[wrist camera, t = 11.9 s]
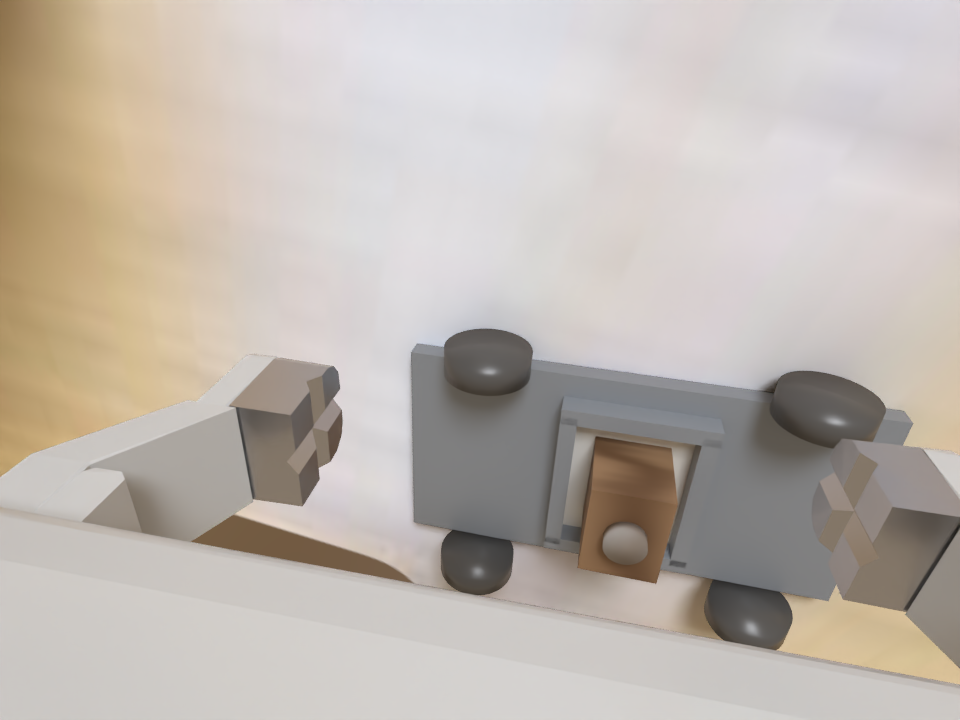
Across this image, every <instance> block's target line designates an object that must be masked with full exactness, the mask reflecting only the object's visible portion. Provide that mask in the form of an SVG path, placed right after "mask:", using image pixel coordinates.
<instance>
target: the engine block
mask: <svg viewBox="0 0 960 720" xmlns="http://www.w3.org/2000/svg"><path fill="white" fill-rule="evenodd" d="M677 506H678V501H677V492H676V483H675V474H674V465H673V456H672V448H667V447H661V446H655V445H649V444H642V443H636V442H630V441H624V440H617V439H611V438H605V437H599V436H596V437H595V443H594V449H593V455H592V461H591V466H590V472H589V478H588V484H587V490H586V495H585V501H584V507H583V515H582V526H581V537H580V548H579V559H578V568H580V569H585V570H590V571H595V572H600V573H605V574H610V575H615V576H620V577H625V578H630V579H636V580H641V581H646V582H651V583H657V579H658V575H659V572H660V568H661V564H662V561H663V557H664V554H665V550H666V546H667V543H668V539H669V535H670V532H671V528H672V524H673V521H674V517H675V513H676V510H677Z"/></svg>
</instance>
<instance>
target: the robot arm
mask: <svg viewBox="0 0 960 720" xmlns="http://www.w3.org/2000/svg"><path fill="white" fill-rule="evenodd" d="M339 389H340V384H339V375H338V371H337V370H336V369H335V367H334V366H329V365H323V364H317V363H310V362H304V361H298V360H292V359H286V358H278V357H274V356H266V355H258V354H249V355H246V356H245V357H244V358H243V359H242V360H241V361H240V362H238V363H237V364H236V365H235V366H234V367H233V368H232V369H231V370H230V371H229V372H228V373H227V374H226V375H224V376H223V377H222V378H221V379H220V380H219V381H218V382H217V383H216V384H215V385H214V386H213V387H212V388H210V389H209V390H208V391H207V392H206V393H205V394H204V395H203V396H202V397H201V398H200V399H199V400H198V401H189V400H187V401H184V402H181V403H178V404H175V405H172V406H170V407H167V408H164V409H161V410H158V411H155V412H152V413H149V414H146V415H143V416H140V417H137V418H135V419H132V420H129V421H126V422H123V423H120V424H117V425H114V426H111V427H108V428H105V429H102V430H100V431H97V432H94V433H91V434H88V435H85V436H82V437H79V438H76V439H73V440H70V441H67V442H65V443H62V444H59V445H56V446H53V447H50V448H47V449H44V450H41V451H38V452H35V453H32V454H30V455H29V456H28V457H26V458H25V459H24V460H22V461H21V462H20V463H18V464H17V465H16V466H14V467H13V468H12V469H11V470H9V471H8V472H7V473H5V474H4V475H3V476H1V477H0V720H960V685H959V684H954V683H948V682H943V681H938V680H932V679H927V678H921V677H916V676H911V675H905V674H900V673H895V672H889V671H884V670H878V669H873V668H868V667H862V666H857V665H852V664H846V663H841V662H835V661H830V660H825V659H819V658H814V657H809V656H803V655H798V654H793V653H787V652H782V651H776V650H771V649H766V648H760V647H755V646H750V645H744V644H739V643H733V642H728V641H723V640H717V639H712V638H707V637H701V636H696V635H690V634H685V633H680V632H674V631H669V630H664V629H658V628H653V627H647V626H642V625H636V624H631V623H625V622H620V621H615V620H609V619H604V618H598V617H593V616H587V615H582V614H576V613H571V612H566V611H560V610H555V609H549V608H544V607H538V606H533V605H527V604H522V603H516V602H511V601H506V600H500V599H495V598H489V597H484V596H478V595H473V594H467V593H462V592H457V591H451V590H446V589H441V588H435V587H430V586H424V585H419V584H414V583H408V582H402V581H397V580H392V579H386V578H381V577H376V576H370V575H365V574H360V573H354V572H349V571H343V570H338V569H333V568H327V567H322V566H316V565H310V564H306V563H300V562H295V561H290V560H284V559H279V558H273V557H268V556H263V555H257V554H252V553H247V552H241V551H235V550H230V549H225V548H219V547H214V546H209V545H203V544H197V543H193V542H191V541H192V540H194V539H195V538H197V537H199V536H200V535H202V534H203V533H205V532H206V531H208V530H210V529H211V528H213V527H214V526H216V525H217V524H219V523H221V522H222V521H224V520H225V519H227V518H228V517H230V516H232V515H233V514H235V513H236V512H238V511H239V510H241V509H243V508H244V507H246V506H247V505H249V504H250V503H252V502H253V499H255V500H262V501H269V502H276V503H283V504H290V505H297V506H303V505H304V503H305V502H306V500H307V498H308V497H309V495H310V494H311V492H312V490H313V489H314V487H315V486H316V484H317V482H318V481H319V469H318V468H319V467H321V466H323V465H325V464H327V463H329V462H330V461H331V460H332V458H333V456H334V454H335V453H336V451H337V448H338V445H339V441H340V438H341V434H342V422H343V421H342V410H341V408H340V407H339V406H338V405H337V403H336V402H335V401H334V399H333V398H334V397H335V395H336V394H337V392H338V391H339ZM829 460H830V462H831V465H832V467H833V469H834V471H835V472H834V473H832V474H831V475H829V476H827V477H826V478H824V479H823V480H821V481H819V484H818V486H817V489H816V491H815V494H814V496H813V502H812V513H811V517H812V523H813V529H814V531H815V534H816V536H817V539H818V541H819V542H820V543H822V544H823V545H824V546H825V547H826V548H827V549H829V550H830V551H831V552H832V555H831V558H830V560H829V562H828V565H829V568H830V570H831V573H832V575H833V577H834V580H835V582H836V584H837V587H838V589H839V591H840V594H841V596H842V599H843V600H848V601H853V602H858V603H863V604H868V605H873V606H878V607H883V608H888V609H893V610H898V611H903V612H907V613H906V614H905V615H906V616H907V617H908V618H909V619H910V620H911V621H912V622H913V623H914V624H915V625H916V626H917V627H918V628H919V629H920V630H921V631H922V632H923V633H924V634H925V635H926V636H927V637H928V638H929V639H930V640H931V641H932V642H933V643H934V644H935V645H937V646H938V647H939V648H940V649H941V650H942V651H943V652H944V653H945V654H946V655H947V656H948V657H949V658H950V659H951V660H952V661H953V662H954V663H955V664H956V665H957V666H958V667H959V668H960V455H958V454H956V453H954V452H952V451H949V450H939V449H930V448H921V447H909V446H900V445H892V444H883V443H875V442H867V441H858V440H850V439H842V440H841V441H840V442H839V443H838V444H837V445H836V446H835V448H834V450H833V452H832V454H831V456H830V459H829Z"/></svg>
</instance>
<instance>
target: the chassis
mask: <svg viewBox="0 0 960 720" xmlns="http://www.w3.org/2000/svg"><path fill="white" fill-rule="evenodd" d="M532 354H533V350H532V347H531V345H530V344H529V343H528V342H527V341H526V340H525V339H523V338H522V337H520V336H518V335H516V334H513V333H510V332H507V331H502V330H496V329H473V330H467V331H463V332H460V333H458V334H455V335H453V336H452V337H450V338H449V339H448V340H447V341H446V343H445V345H444V347H438V346H431V345H424V344H417V345H416V346H415V348H414V349H413V350H412V352H411V366H412V428H413V489H414V522H416V523H421V524H426V525H431V526H437V527H442V528H447V529H452V531H451V532H450V533H449V534H448V535H447V536H446V537H445V539H444V541H443V543H442V548H441V570H442V574H443V577H444V578H445V580H446V581H447V582H448V584H449V585H450V586H452V587H453V588H454V589H456V590H458V591H460V592H462V593H467V594H473V595H485V594H490V593H493V592H495V591H497V590H499V589H500V588H502V587H503V586H504V585H505V584H506V583H507V581H508V580H509V578H510V576H511V572H512V563H513V546H512V543H511V541H515V542H521V543H526V544H531V545H536V546H542V547H545V548H550V549H555V550H561V551H566V552H571V553H576V554H579V548H580V537H581V526H582V515H583V507H584V501H585V495H586V490H587V484H588V478H589V472H590V466H591V461H592V455H593V449H594V443H595V437H596V436H599V437H605V438H611V439H617V440H624V441H630V442H636V443H642V444H649V445H655V446H661V447H667V448H672V456H673V465H674V474H675V483H676V492H677V501H678V506H677V510H676V513H675V517H674V521H673V524H672V528H671V532H670V535H669V539H668V543H667V546H666V550H665V554H664V557H663V561H662V564H661V568H660V570H666V571H671V572H676V573H681V574H689V575H694V576H699V577H705V578H710V579H714V580H713V581H712V583H711V586H710V589H709V592H708V595H707V598H706V601H705V605H704V612H705V616H706V619H707V621H708V623H709V625H710V626H711V628H712V629H713V630H714V631H715V633H716V634H717V635H718V636H719V637H720V638H722V639H723V640H724V641H728V642H733V643H739V644H744V645H750V646H755V647H760V648H766V649H771V650H777V649H779V648H780V647H781V645H782V644H783V642H784V640H785V638H786V635H787V633H788V631H789V629H790V626H791V624H792V619H793V617H792V611H791V608H790V605H789V604H788V602H787V600H786V599H785V597H784V596H783V595H782V594H781V593H780V592H783V593H789V594H794V595H799V596H804V597H810V598H815V599H820V600H825V601H828V600H829V598H830V596H831V594H832V592H833V590H834V588H835V586H836V582H835V580H834V577H833V575H832V573H831V570H830V568H829V565H828V562H829V560H830V558H831V555H832V552H831V551H830V550H829V549H827V548H826V547H825V546H824V545H823V544H822V543H820V542H819V541H818V539H817V536H816V534H815V531H814V529H813V523H812V517H811V513H812V502H813V496H814V494H815V491H816V489H817V486H818V484H819V481H821V480H823V479H824V478H826V477H827V476H829V475H831V474H832V473H834V472H835V471H834V469H833V467H832V465H831V462H830V460H829V459H830V456H831V454H832V452H833V450H834V448H835V446H836V445H837V444H838V443H839V442H840V441H841V440H842V439H850V440H858V441H867V442H875V443H883V444H892V445H900V446H903V444H904V442H905V439H906V437H907V435H908V433H909V431H910V429H911V427H912V425H913V422H912V421H911V420H910V418H909V417H908V416H907V414H906V413H905V412H904V411H899V410H892V409H886V408H885V405H884V403H883V402H882V401H881V399H880V398H879V397H877V396H876V395H875V394H874V393H873V392H871V391H870V390H868V389H866V388H865V387H863V386H861V385H859V384H857V383H855V382H852V381H850V380H847V379H845V378H842V377H838V376H835V375H831V374H827V373H821V372H814V371H795V372H790V373H787V374H784V375H783V376H781V377H780V379H779V380H778V383H777V386H776V389H775V392H774V393H769V392H762V391H755V390H748V389H741V388H733V387H726V386H719V385H712V384H705V383H697V382H690V381H683V380H676V379H669V378H661V377H654V376H647V375H640V374H633V373H625V372H618V371H611V370H604V369H596V368H589V367H582V366H575V365H568V364H560V363H553V362H546V361H539V360H532Z"/></svg>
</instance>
